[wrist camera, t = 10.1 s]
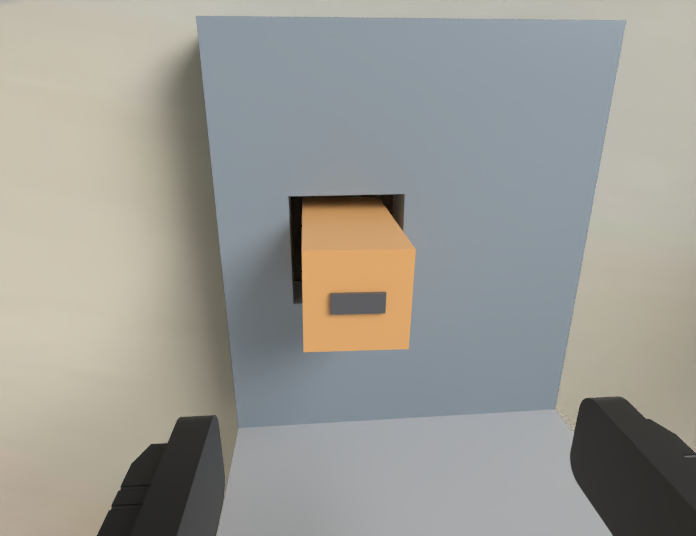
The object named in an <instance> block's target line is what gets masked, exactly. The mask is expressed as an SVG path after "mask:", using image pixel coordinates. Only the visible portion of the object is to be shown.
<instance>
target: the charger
mask: <svg viewBox="0 0 696 536" xmlns="http://www.w3.org/2000/svg"><path fill="white" fill-rule="evenodd" d="M415 255H416V249H415V247H414V246H413V245H412V243H411V242H410V240H409V239H408V238H407V236H406V235H405V233H404V232H403V231H402V229H401V228H400V227H399V225H398V224H397V222H396V221H395V220H394V218H393V217H392V215H391V214H390V213H389V211H388V210H387V208H386V207H385V206H384V204H383V203H382V202H381V200H380V199H379V197H302V299H303V352H331V351H364V350H397V349H409V340H410V326H411V312H412V297H413V283H414V269H415Z"/></svg>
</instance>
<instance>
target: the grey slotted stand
mask: <svg viewBox="0 0 696 536" xmlns="http://www.w3.org/2000/svg"><path fill="white" fill-rule="evenodd" d="M196 21H197V31H198V41H199V51H200V60H201V70H202V80H203V89H204V99H205V109H206V119H207V128H208V138H209V148H210V158H211V167H212V177H213V187H214V196H215V206H216V216H217V226H218V235H219V245H220V255H221V265H222V274H223V284H224V294H225V303H226V313H227V323H228V333H229V342H230V352H231V362H232V372H233V381H234V391H235V401H236V410H237V420H238V432H237V437H236V442H235V447H234V453H233V458H232V463H231V468H230V473H229V478H228V483H227V488H226V493H225V498H224V503H223V508H222V513H221V519H220V524H219V529H218V534H217V536H613V535H612V534H611V532H610V531H609V529H608V528H607V526H606V525H605V523H604V522H603V520H602V519H601V518H600V516H599V515H598V513H597V512H596V510H595V509H594V507H593V506H592V504H591V503H590V501H589V500H588V498H587V497H586V495H585V494H584V493H583V491H582V490H581V488H580V487H579V485H578V484H577V482H576V480H575V478H574V475H573V472H572V469H571V464H570V451H571V446H572V441H573V436H574V432H573V431H572V430H571V429H570V427H569V426H568V425H567V424H566V422H565V421H564V420H563V419H562V417H561V416H560V415H559V414H558V412H557V411H556V410H555V407H556V402H557V396H558V391H559V385H560V380H561V374H562V369H563V363H564V358H565V352H566V347H567V341H568V336H569V330H570V325H571V320H572V314H573V309H574V303H575V298H576V292H577V287H578V281H579V276H580V270H581V265H582V259H583V254H584V248H585V243H586V237H587V232H588V226H589V221H590V215H591V210H592V204H593V199H594V194H595V188H596V183H597V177H598V172H599V166H600V161H601V155H602V150H603V144H604V139H605V133H606V128H607V122H608V117H609V111H610V106H611V100H612V95H613V89H614V84H615V79H616V73H617V68H618V62H619V57H620V51H621V46H622V40H623V35H624V29H625V24H626V20H535V19H440V18H344V17H249V16H196ZM384 194H393V212H392V217H393V218H394V220H395V221H396V222H397V224H398V225H399V227H400V228H401V229H402V231H403V232H404V233H405V235H406V236H407V238H408V239H409V240H410V242H411V243H412V245H413V246H414V247H415V249H416V255H415V269H414V283H413V297H412V312H411V326H410V340H409V349H397V350H364V351H331V352H303V299H302V281H294V259H293V237H292V215H291V196H334V195H384Z"/></svg>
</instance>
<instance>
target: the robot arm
mask: <svg viewBox="0 0 696 536" xmlns="http://www.w3.org/2000/svg"><path fill="white" fill-rule="evenodd" d="M570 464H571V469H572V472H573V475H574V478H575V480H576V482H577V484H578V485H579V487H580V488H581V490H582V491H583V493H584V494H585V495H586V497H587V498H588V500H589V501H590V503H591V504H592V506H593V507H594V509H595V510H596V512H597V513H598V515H599V516H600V518H601V519H602V520H603V522H604V523H605V525H606V526H607V528H608V529H609V531H610V532H611V534H612V535H613V536H696V453H695V452H694V451H693V450H692V449H691V448H690V447H689V446H687V445H686V444H685V443H684V442H683V441H682V440H681V439H680V438H679V437H678V436H677V435H676V434H674V433H672V432H671V431H669V430H667V429H666V428H664V427H662V426H661V425H659V424H657V423H655V422H654V421H652V420H650V419H645V418H644V417H643V416H642V415H641V414H640V413H639V412H638V411H637V410H636V409H635V408H634V407H633V406H632V405H631V404H630V403H629V402H628V401H627V400H626V399H624V398H622V397H600V398H586V399H584V400H583V401H582V402H581V404H580V407H579V412H578V417H577V422H576V427H575V432H574V436H573V441H572V446H571V451H570ZM224 487H225V475H224V465H223V457H222V448H221V440H220V432H219V424H218V419H217V417H216V416H215V415H212V416H192V417H180V418H178V420H177V422H176V424H175V427H174V429H173V431H172V434H171V436H170V439H169V441H168V443H164V444H151V445H150V446H149V447H148V448H147V449H146V450H145V451H144V452H143V453H142V454H141V455H140V456H139V457H138V458H137V459H136V460H135V461H134V462H133V463H132V464H131V466H130V468H129V470H128V472H127V474H126V476H125V478H124V481H123V483H122V485H121V490H120V491H118V493H117V495H116V497H115V499H114V501H113V503H112V508H111V510H109V512H108V514H107V516H106V518H105V520H104V522H103V524H102V526H101V528H100V530H99V532H98V535H97V536H216V533H217V528H218V524H219V519H220V514H221V510H222V505H223V499H224Z"/></svg>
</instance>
